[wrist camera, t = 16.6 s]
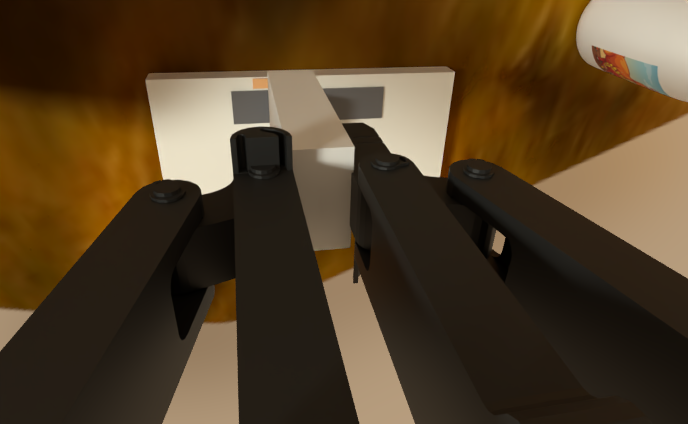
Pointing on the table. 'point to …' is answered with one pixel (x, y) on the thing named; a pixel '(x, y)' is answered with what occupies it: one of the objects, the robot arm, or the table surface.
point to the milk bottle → (638, 42)
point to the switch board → (253, 111)
